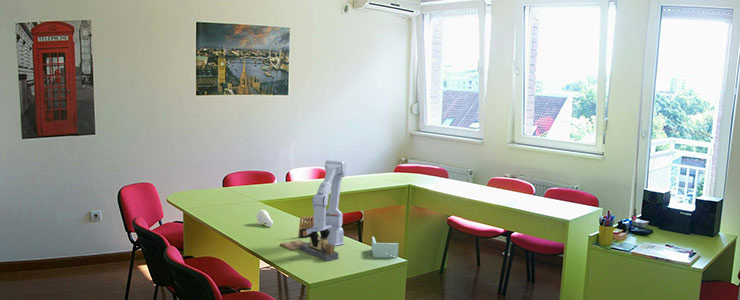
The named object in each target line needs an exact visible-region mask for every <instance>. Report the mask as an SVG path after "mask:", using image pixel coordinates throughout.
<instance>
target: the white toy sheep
mask: <svg viewBox="0 0 740 300" xmlns="http://www.w3.org/2000/svg"><path fill="white" fill-rule="evenodd" d="M256 218H257V222H258V224H259V225H258V226H260V224H261V225H262V224H264V223H266V224H265V226H266V227H269V228H271V227H272V226H273V224H274V221H273V220H272V219H271V216H270V215H269V212H268V211H267V210H265V209H260V210H258V212H257V214H256Z"/></svg>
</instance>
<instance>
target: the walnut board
mask: <svg viewBox="0 0 740 300" xmlns="http://www.w3.org/2000/svg"><path fill="white" fill-rule="evenodd" d="M304 243H306V242H305V241H303V240H301V239H299V240H292V241H289V242H288V241H287V242H283V243H282V242H281V243H279V246H281V247H284V248H285V249H288V250H290V251H296V250H300V244H304Z"/></svg>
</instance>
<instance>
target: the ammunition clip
mask: <svg viewBox="0 0 740 300" xmlns="http://www.w3.org/2000/svg"><path fill="white" fill-rule="evenodd" d="M313 226H314V214H312V215H309V217H308V215H306V216H305V215H303V217H302V216H300V218H299V227H298V236H297V238H299V239H307V238H310V236H309V234H307V233H306V229H310V228H312V227H313ZM316 233H317V234H318V232H316Z"/></svg>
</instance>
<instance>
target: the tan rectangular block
mask: <svg viewBox="0 0 740 300" xmlns="http://www.w3.org/2000/svg"><path fill="white" fill-rule="evenodd" d="M309 242H310V247H313V244H312V240H311V238H310V237H309ZM325 244H328V239H327V238H324V237H321V235H319V236H318V239H317V247H313V248H315V249H318V250H320V251H322V249H325Z"/></svg>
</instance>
